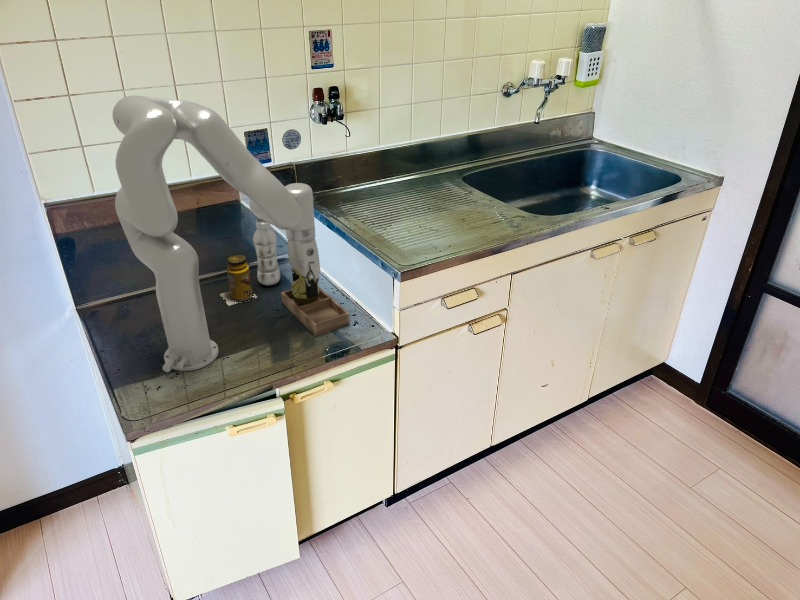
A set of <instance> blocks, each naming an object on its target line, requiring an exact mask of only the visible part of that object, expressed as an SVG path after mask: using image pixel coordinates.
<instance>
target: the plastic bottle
mask: <svg viewBox="0 0 800 600" xmlns="http://www.w3.org/2000/svg"><path fill="white" fill-rule="evenodd" d="M255 226H256V230H255V231H254V234H253V237H252V241H253V245H254V248H255V252H256V258H257V270H256V271H257V274H256V276H257V277H256V278H257V280H258V282H259V283H260V284H261V285H262V286H266V287H267V286H268V287H269V286H273V285H274V286H275V285H277V284H278V283H279V281H280V280H281V271H280V267H279V264H278V258H277V240H278V239H277V235H276V232H275V231H274V230H273V229H272V228H271V224H270V223H268V222H266V221H264V220H262V219H260V218H258V219H256V220H255Z"/></svg>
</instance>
